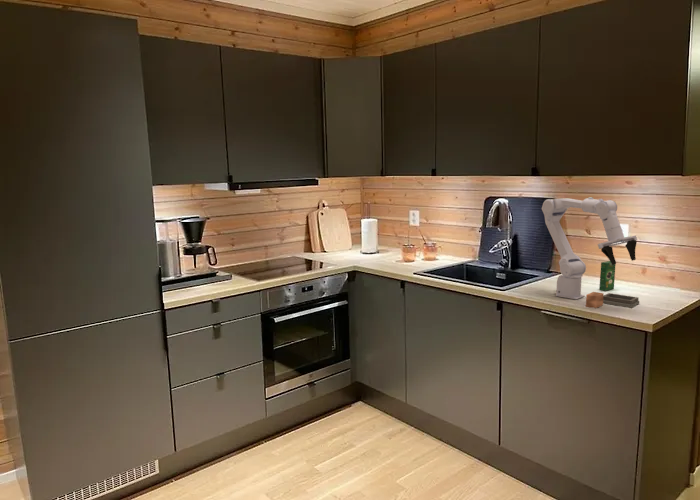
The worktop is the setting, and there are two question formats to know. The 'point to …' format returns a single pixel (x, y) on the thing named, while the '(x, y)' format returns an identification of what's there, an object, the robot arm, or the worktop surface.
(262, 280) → the worktop surface
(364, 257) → the worktop surface
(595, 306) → the terracotta bar
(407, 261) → the worktop surface
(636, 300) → the nest plate
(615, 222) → the robot arm
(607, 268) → the coffee box
